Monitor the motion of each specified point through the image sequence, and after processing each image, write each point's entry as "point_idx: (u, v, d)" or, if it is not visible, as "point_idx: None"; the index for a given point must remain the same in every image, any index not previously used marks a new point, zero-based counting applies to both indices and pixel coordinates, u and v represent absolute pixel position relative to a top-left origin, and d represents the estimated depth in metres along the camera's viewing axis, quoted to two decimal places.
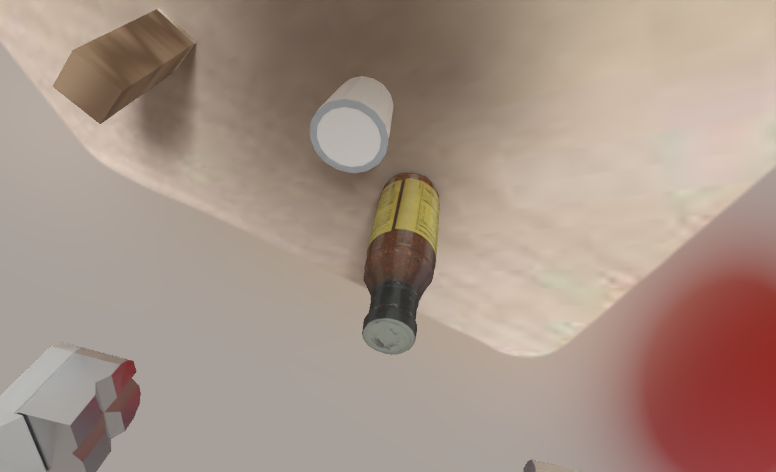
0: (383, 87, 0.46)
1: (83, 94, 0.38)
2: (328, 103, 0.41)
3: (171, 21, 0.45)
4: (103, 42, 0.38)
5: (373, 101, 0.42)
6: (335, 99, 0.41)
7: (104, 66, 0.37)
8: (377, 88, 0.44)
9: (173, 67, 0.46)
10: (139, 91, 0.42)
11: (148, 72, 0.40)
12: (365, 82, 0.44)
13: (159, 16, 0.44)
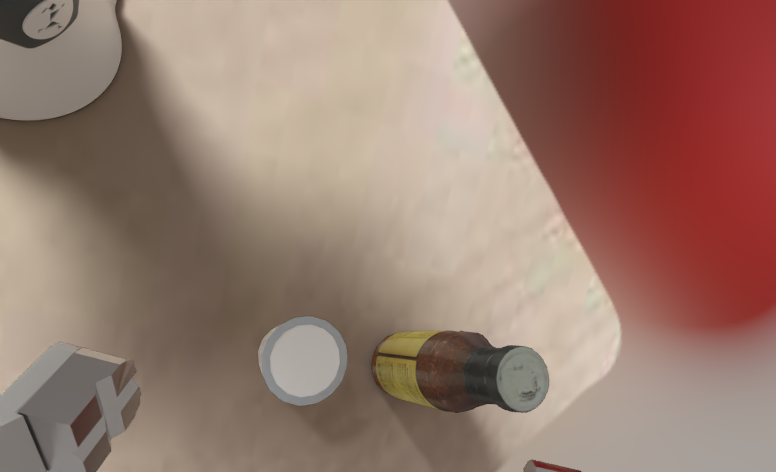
0: None
1: None
2: (262, 357, 0.38)
3: None
4: None
5: None
6: (263, 349, 0.38)
7: None
8: None
9: None
10: None
11: None
12: (269, 332, 0.43)
13: None
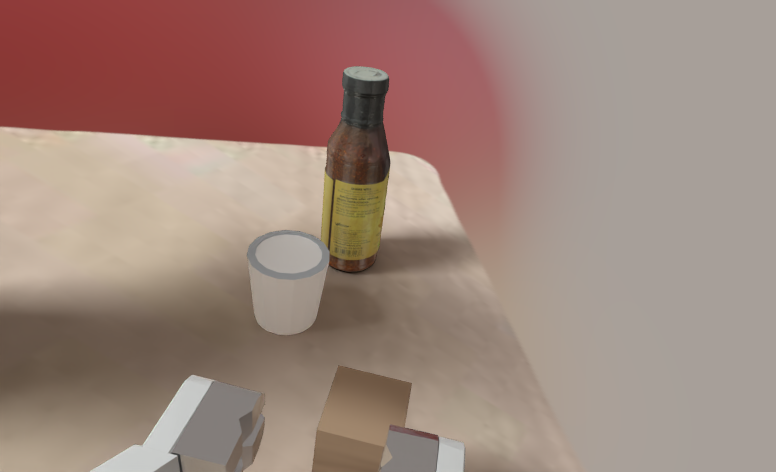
0: None
1: (380, 408, 0.25)
2: (263, 273, 0.40)
3: None
4: None
5: None
6: (258, 273, 0.40)
7: None
8: None
9: None
10: None
11: None
12: (254, 305, 0.44)
13: None
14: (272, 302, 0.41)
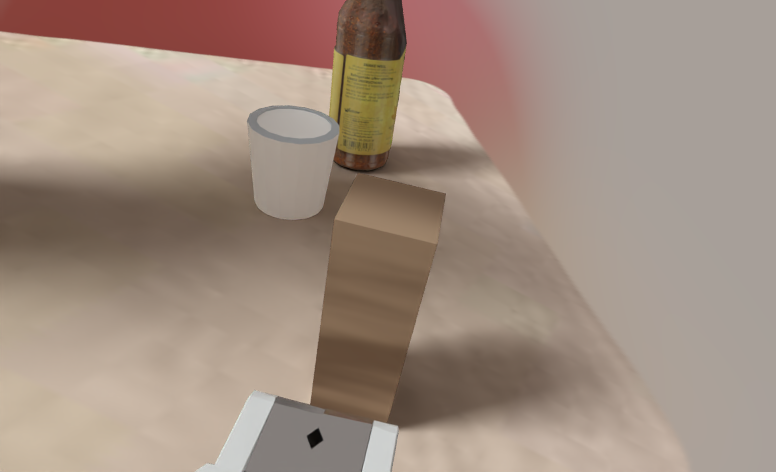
0: None
1: (410, 209, 0.20)
2: (266, 136, 0.35)
3: None
4: None
5: None
6: (259, 138, 0.35)
7: None
8: None
9: None
10: None
11: None
12: (254, 186, 0.39)
13: None
14: (275, 175, 0.37)
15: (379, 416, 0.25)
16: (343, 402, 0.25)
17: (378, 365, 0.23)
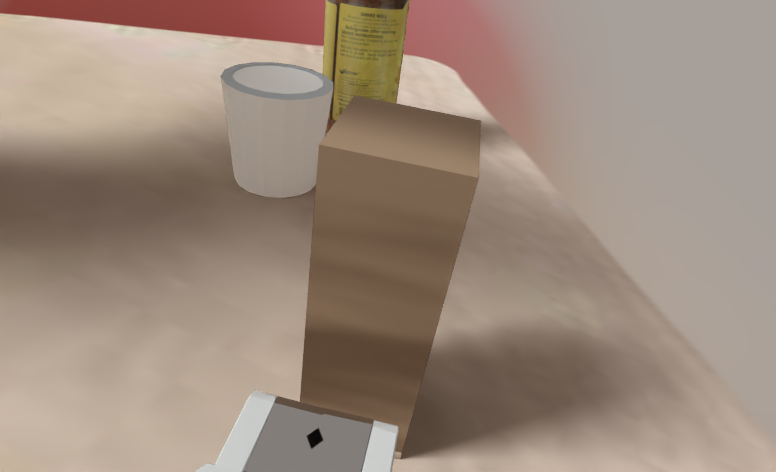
0: None
1: (432, 136, 0.14)
2: (242, 91, 0.28)
3: None
4: None
5: None
6: (235, 94, 0.29)
7: None
8: None
9: None
10: None
11: None
12: (233, 158, 0.33)
13: None
14: (256, 141, 0.30)
15: None
16: None
17: (389, 368, 0.16)
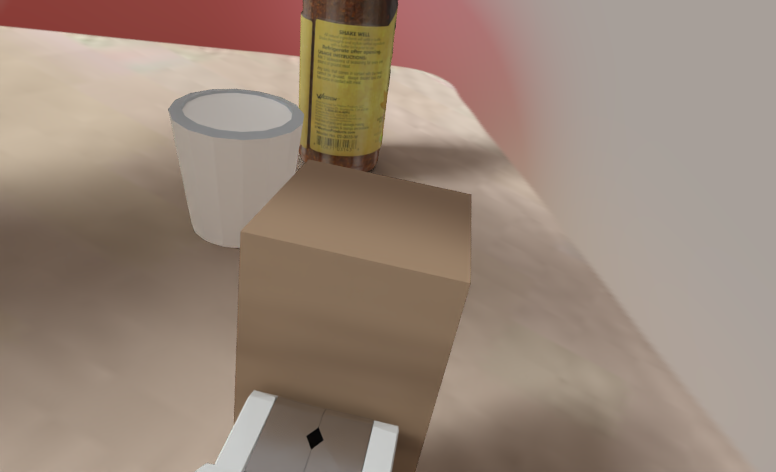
0: None
1: (407, 217, 0.10)
2: (191, 129, 0.24)
3: None
4: None
5: None
6: (183, 132, 0.24)
7: None
8: None
9: None
10: None
11: None
12: (187, 201, 0.28)
13: None
14: (210, 186, 0.25)
15: None
16: None
17: None
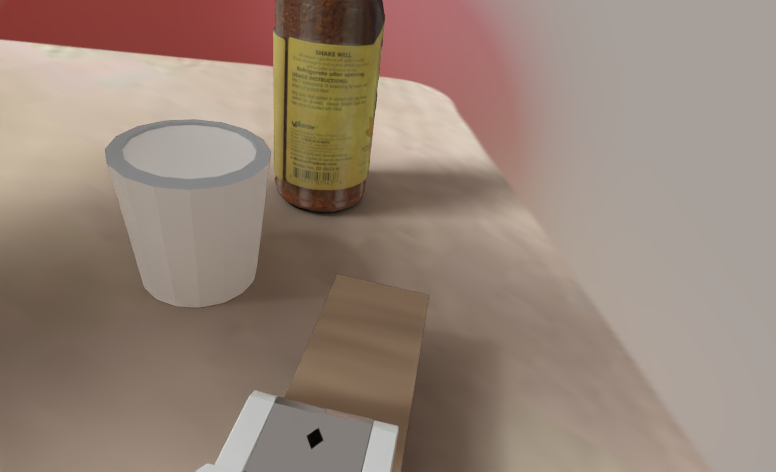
0: None
1: None
2: (128, 177, 0.20)
3: None
4: None
5: None
6: (119, 179, 0.20)
7: None
8: None
9: None
10: None
11: None
12: None
13: None
14: (155, 240, 0.21)
15: None
16: None
17: None
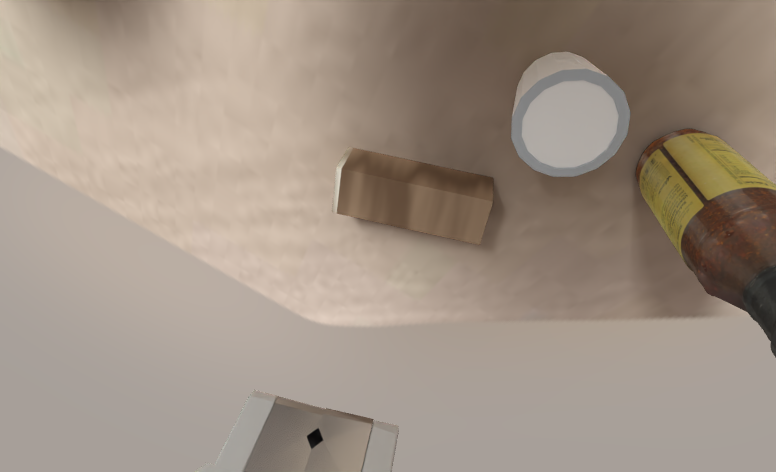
0: (570, 53, 0.34)
1: None
2: (521, 99, 0.30)
3: (344, 160, 0.39)
4: (454, 190, 0.38)
5: (574, 64, 0.30)
6: (527, 90, 0.30)
7: (481, 187, 0.39)
8: (565, 55, 0.33)
9: None
10: None
11: (446, 168, 0.40)
12: (546, 59, 0.33)
13: (351, 166, 0.38)
14: (517, 97, 0.33)
15: (345, 210, 0.40)
16: (352, 190, 0.39)
17: (391, 213, 0.39)
